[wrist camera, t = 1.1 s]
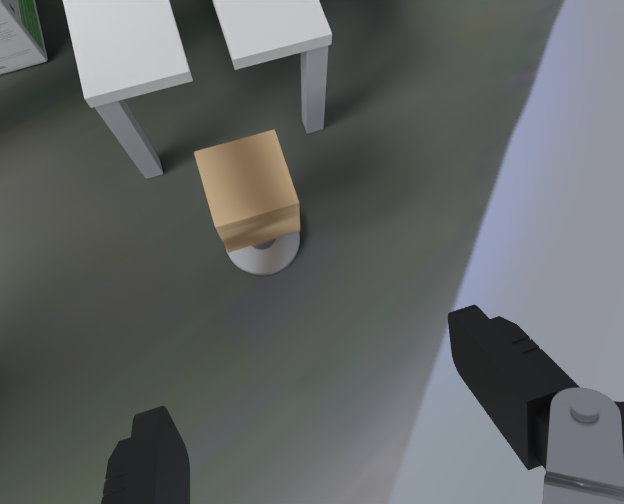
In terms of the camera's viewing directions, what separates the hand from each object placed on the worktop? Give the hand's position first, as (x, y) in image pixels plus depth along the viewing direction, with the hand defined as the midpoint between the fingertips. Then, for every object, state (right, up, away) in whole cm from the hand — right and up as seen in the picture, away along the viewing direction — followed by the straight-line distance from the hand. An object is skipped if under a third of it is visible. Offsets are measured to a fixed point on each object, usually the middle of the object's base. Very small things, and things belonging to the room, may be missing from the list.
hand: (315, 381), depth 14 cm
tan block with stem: (-4, +4, +27) cm, 28 cm away
